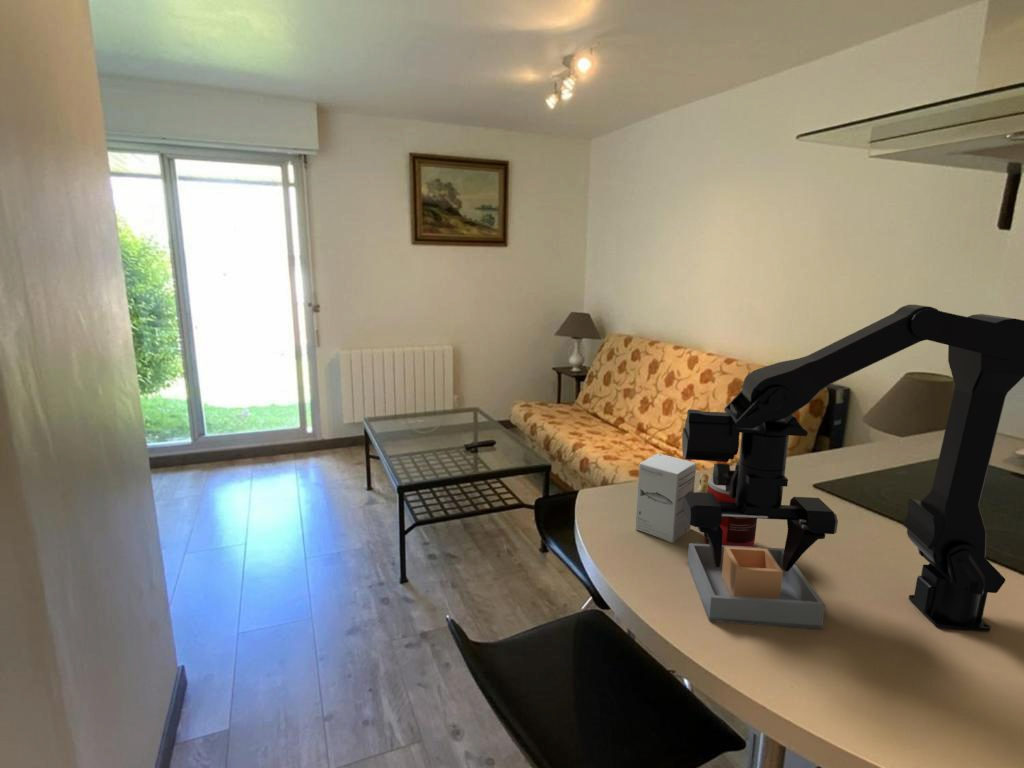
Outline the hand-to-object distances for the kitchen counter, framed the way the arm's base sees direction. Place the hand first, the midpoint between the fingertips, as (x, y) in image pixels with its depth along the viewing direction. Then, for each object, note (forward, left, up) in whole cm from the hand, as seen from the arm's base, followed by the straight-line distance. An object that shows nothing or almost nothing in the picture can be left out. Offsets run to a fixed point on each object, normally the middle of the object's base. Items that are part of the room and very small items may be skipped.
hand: (750, 567), depth 76 cm
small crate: (0, 0, -4) cm, 4 cm away
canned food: (-1, -14, -4) cm, 15 cm away
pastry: (-5, -36, -4) cm, 36 cm away
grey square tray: (0, 0, -4) cm, 4 cm away
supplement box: (+9, -18, -4) cm, 21 cm away
